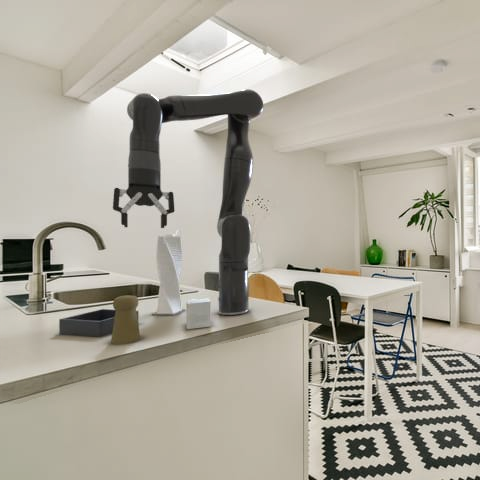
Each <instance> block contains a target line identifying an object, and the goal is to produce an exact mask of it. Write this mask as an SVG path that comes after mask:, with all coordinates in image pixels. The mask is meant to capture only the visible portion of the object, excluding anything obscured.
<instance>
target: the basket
mask: <svg viewBox="0 0 480 480" xmlns="http://www.w3.org/2000/svg"><path fill="white" fill-rule="evenodd" d="M115 313H116V310H115V309H109V308H108V309H107V308H106V309H105V308H101V309H97V310H93V311H88V312H83V313H79V314H76V315H72V316H68V317H63V318H59V320H58V323H59V324H58V328H59V329H58V332H59V333H58V334H59V335H66V336H67V335H68V336H79V337H81V336H82V337H94V338H95V337H96V338H101V337H104V336H106V335H110V334H112V332H113V326H114V319H115ZM136 313H137V319H138V320H139V310H136ZM139 324H140V323H139V322H138V325H139Z"/></svg>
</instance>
